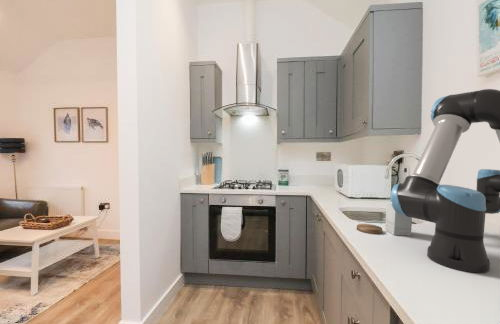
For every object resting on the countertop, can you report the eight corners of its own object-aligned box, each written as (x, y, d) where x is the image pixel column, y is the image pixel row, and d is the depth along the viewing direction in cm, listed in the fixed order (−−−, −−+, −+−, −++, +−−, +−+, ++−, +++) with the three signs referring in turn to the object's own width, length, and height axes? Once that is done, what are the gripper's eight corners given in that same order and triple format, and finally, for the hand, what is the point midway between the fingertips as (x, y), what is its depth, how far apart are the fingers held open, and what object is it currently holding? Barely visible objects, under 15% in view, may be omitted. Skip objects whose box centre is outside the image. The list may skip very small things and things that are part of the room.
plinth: (387, 234, 106) (387, 230, 106) (364, 233, 105) (364, 230, 105) (373, 227, 116) (373, 223, 116) (352, 226, 115) (352, 223, 115)
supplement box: (411, 236, 104) (413, 205, 104) (393, 235, 105) (395, 204, 104) (401, 230, 112) (402, 202, 111) (384, 229, 112) (386, 201, 112)
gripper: (496, 221, 98) (445, 221, 97) (442, 207, 123) (401, 207, 121) (497, 202, 98) (446, 201, 96) (443, 191, 123) (401, 191, 121)
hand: (421, 204), depth 109 cm, fingers open, 13 cm apart
